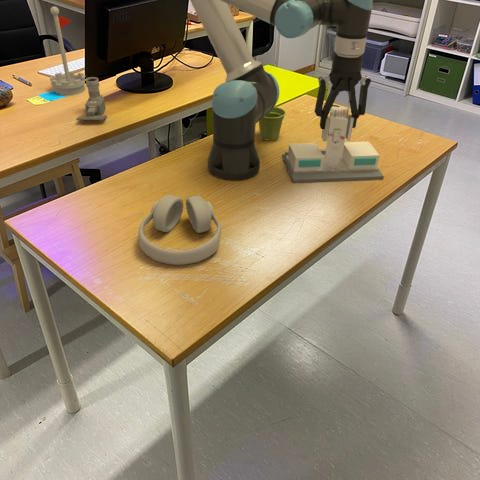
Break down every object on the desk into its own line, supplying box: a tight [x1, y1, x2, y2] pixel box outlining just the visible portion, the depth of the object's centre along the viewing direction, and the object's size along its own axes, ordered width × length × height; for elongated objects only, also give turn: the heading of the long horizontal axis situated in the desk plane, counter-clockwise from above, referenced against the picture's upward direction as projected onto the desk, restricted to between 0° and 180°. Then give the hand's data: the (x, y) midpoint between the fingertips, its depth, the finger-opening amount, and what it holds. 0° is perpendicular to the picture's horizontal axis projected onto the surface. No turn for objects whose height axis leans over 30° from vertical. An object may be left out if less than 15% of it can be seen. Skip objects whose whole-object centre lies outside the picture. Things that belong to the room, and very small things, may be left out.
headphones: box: [137, 193, 222, 266], centre depth 106 cm, size 18×8×20 cm
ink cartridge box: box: [325, 99, 350, 159], centre depth 129 cm, size 9×5×15 cm, turn 169°
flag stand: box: [49, 6, 86, 97], centre depth 174 cm, size 13×13×30 cm
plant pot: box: [258, 106, 287, 142], centre depth 150 cm, size 9×9×9 cm
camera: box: [75, 76, 108, 121], centre depth 160 cm, size 9×12×15 cm
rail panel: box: [281, 141, 385, 184], centre depth 135 cm, size 26×16×6 cm, turn 97°
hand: (335, 138), depth 131 cm, fingers closed on ink cartridge box, 6 cm apart
